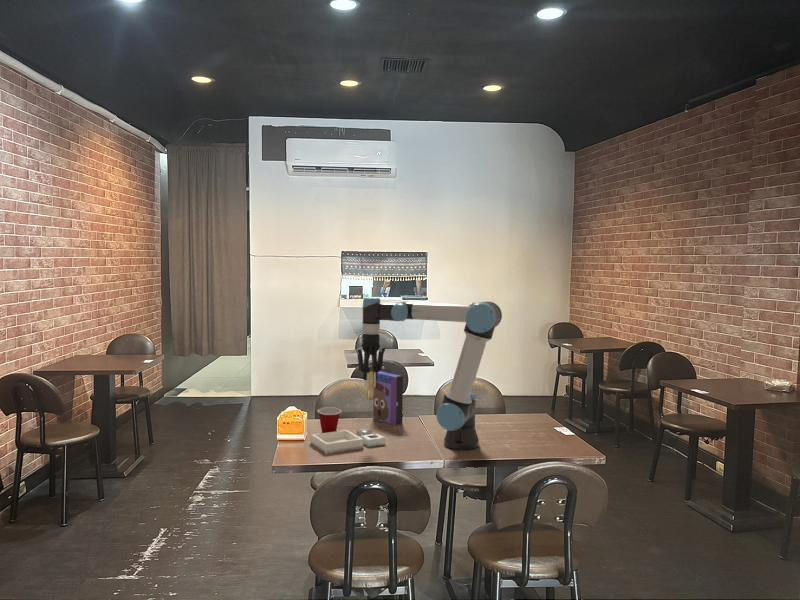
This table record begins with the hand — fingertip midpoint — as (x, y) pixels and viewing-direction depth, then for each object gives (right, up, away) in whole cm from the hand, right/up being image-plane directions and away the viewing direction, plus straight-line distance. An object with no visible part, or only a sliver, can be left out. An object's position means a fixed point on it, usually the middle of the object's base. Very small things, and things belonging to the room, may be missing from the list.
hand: (369, 387), depth 267 cm
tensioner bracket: (-1, -25, +5) cm, 25 cm away
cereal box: (+7, -23, +42) cm, 48 cm away
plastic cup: (-19, -24, +13) cm, 33 cm away
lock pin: (0, -5, 0) cm, 5 cm away
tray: (-14, -25, -3) cm, 29 cm away
